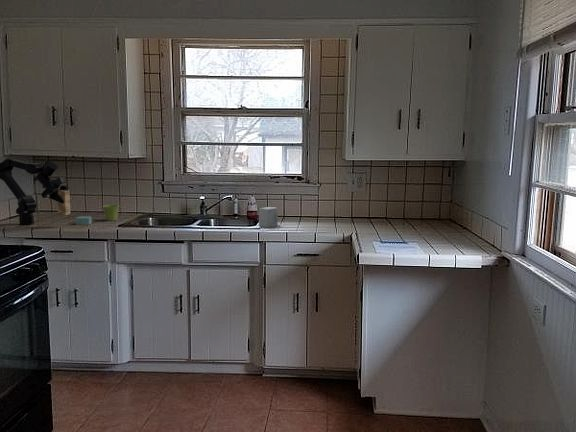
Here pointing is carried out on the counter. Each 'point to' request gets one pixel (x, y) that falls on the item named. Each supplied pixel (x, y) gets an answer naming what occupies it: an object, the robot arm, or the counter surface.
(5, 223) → the counter surface
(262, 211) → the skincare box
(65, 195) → the oak pillar
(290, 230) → the counter surface
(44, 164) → the robot arm
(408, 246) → the counter surface
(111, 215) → the plant pot
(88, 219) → the base block
